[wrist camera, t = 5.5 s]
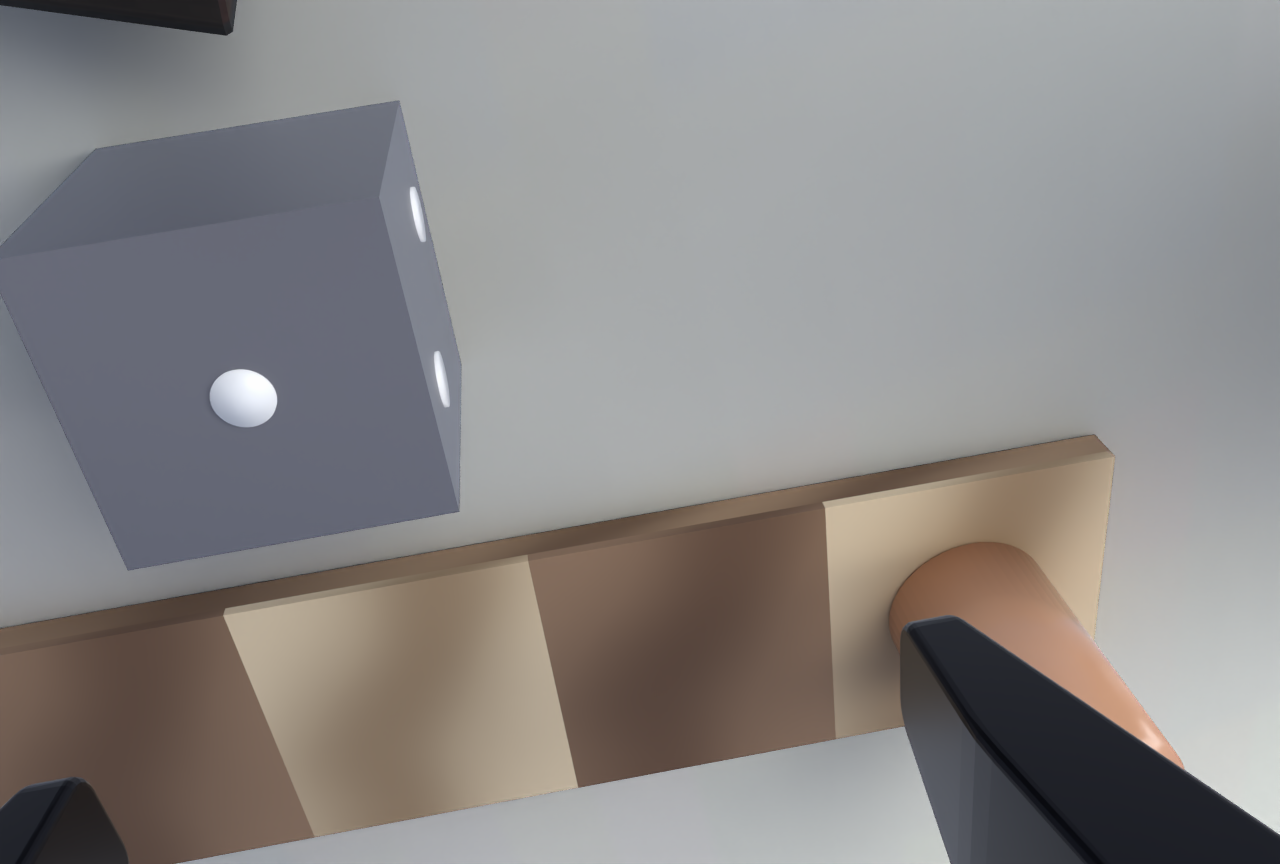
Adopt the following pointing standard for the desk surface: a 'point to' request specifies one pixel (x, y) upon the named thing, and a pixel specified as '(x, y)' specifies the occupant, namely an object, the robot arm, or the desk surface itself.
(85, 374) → the die
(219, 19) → the handgun
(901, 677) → the robot arm
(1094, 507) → the track
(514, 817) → the desk surface
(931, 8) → the desk surface
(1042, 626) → the tan rounded peg
